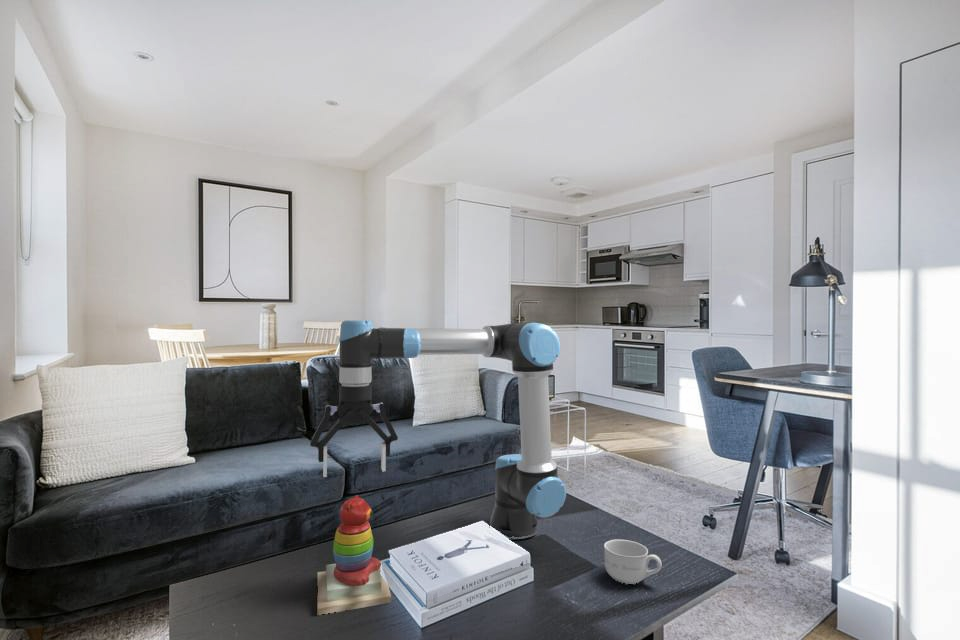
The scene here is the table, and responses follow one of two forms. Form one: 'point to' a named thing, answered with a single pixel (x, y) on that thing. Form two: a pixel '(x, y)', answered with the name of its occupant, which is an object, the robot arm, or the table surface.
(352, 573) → the stacking bear
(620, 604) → the table surface
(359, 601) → the plinth
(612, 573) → the teacup
